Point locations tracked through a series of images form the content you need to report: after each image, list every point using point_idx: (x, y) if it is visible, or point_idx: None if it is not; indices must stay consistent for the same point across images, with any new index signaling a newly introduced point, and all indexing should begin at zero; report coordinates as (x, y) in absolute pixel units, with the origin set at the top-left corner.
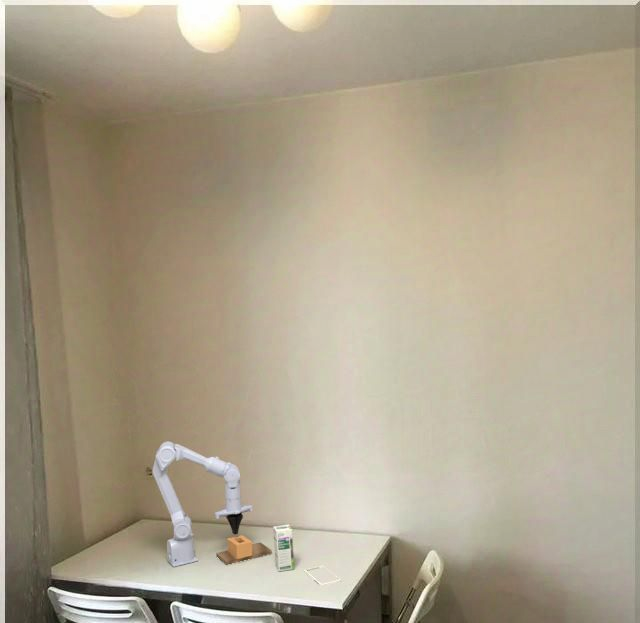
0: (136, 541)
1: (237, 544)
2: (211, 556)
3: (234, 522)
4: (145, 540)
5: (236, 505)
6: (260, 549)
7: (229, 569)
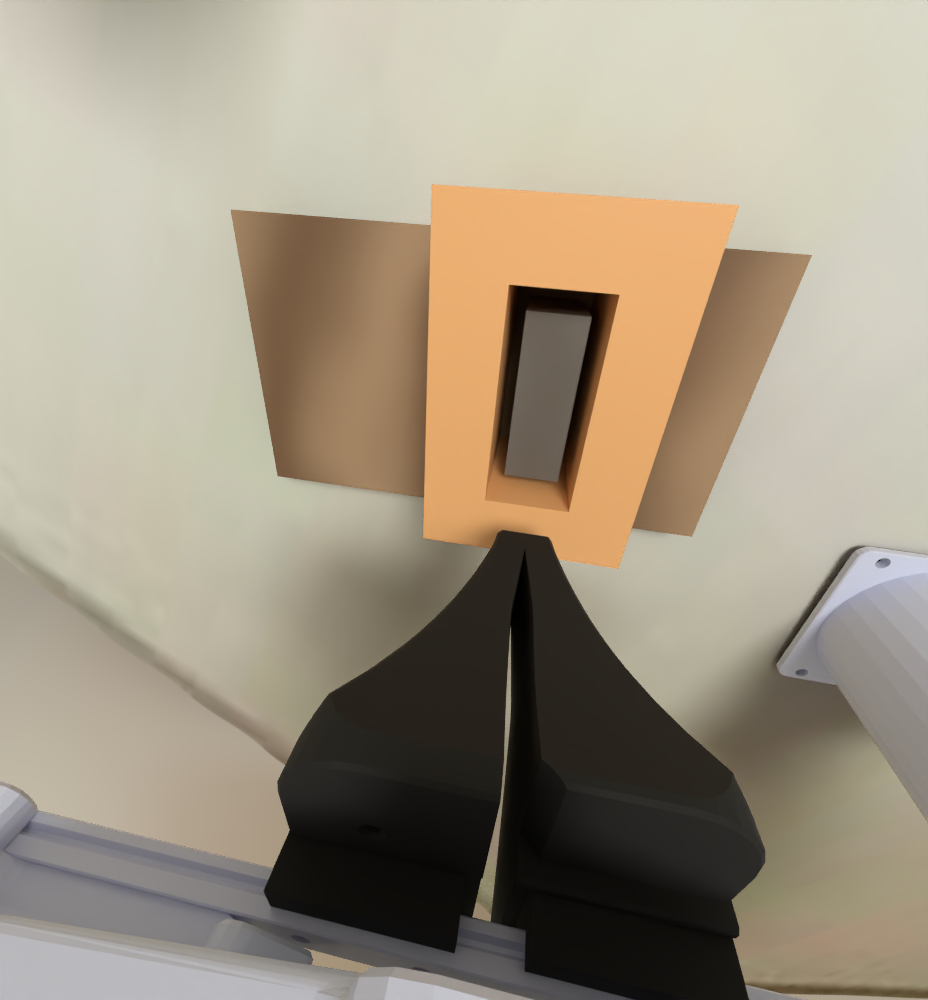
0: (789, 918)
1: (690, 245)
2: (698, 552)
3: (579, 676)
4: (752, 903)
5: None
6: (328, 315)
7: (879, 76)
